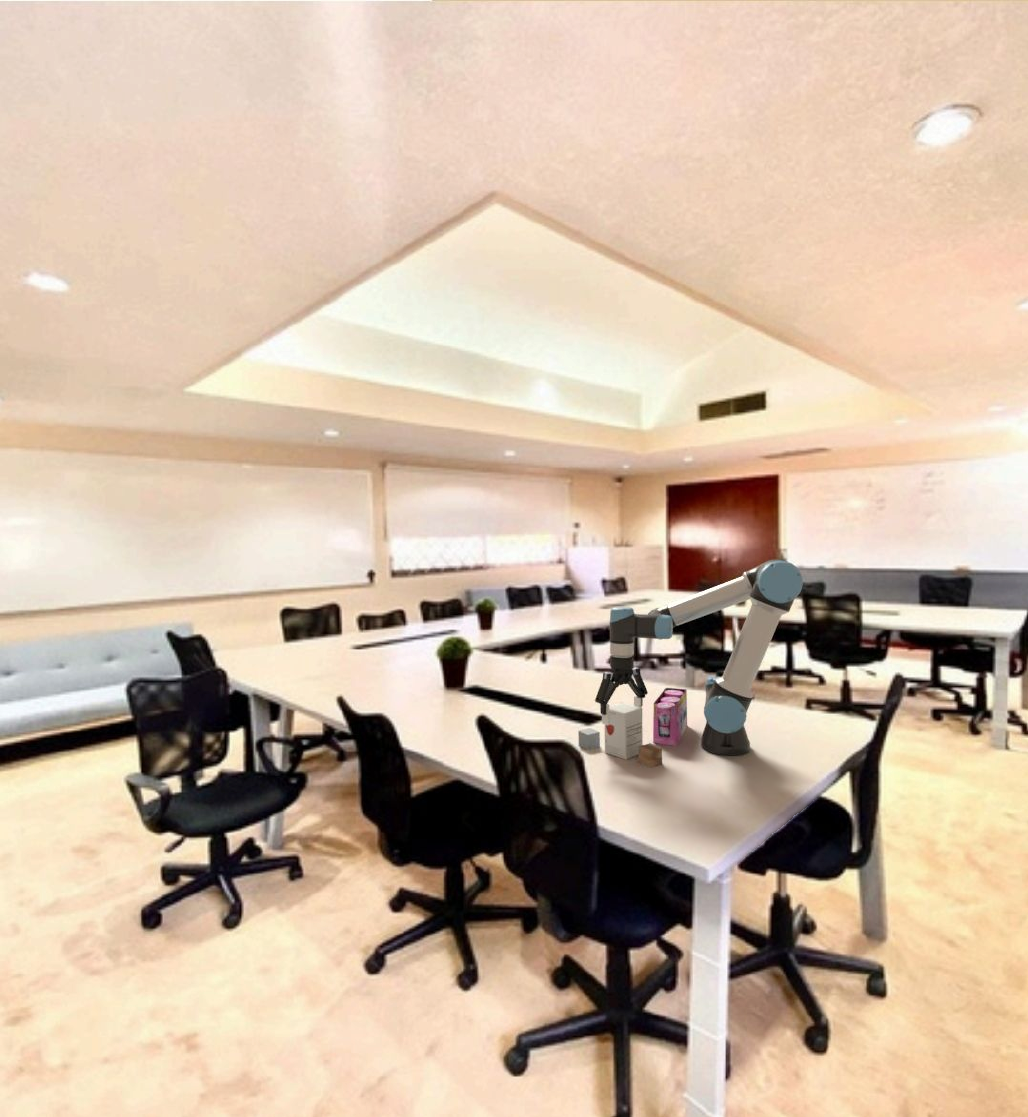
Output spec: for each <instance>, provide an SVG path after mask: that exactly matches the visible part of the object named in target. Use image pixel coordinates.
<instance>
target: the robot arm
mask: <svg viewBox="0 0 1028 1117" xmlns="http://www.w3.org/2000/svg"><path fill="white" fill-rule="evenodd" d="M803 584H804V582H803V576H802V572H801V571H800V569H799V568H798V567H797V566H796V565H795V564H793V563H791V562H789V561H787V560H784V559H782V558H781V559H779V558H774V559H768V560H767V561H765V562H763V563H761V564H759V565H757V566H755V567H753V568H751V569H749V570H746V571H744V572H743V574H742V575H741V576H740V577H737V578H734V579H732V580H729V581H726V582H724V583H721V584H718V585H716V586H713V587H711V588H708V589H705V590H703V591H700V592H698V593H695V594H693V595H689V596H687V597H684V598H682V599H680V600H677V601H674V602H671V603H669V604H667V605H664V606H661V607H656V608H653V609H652V610H650V611H649V612H648V614H641V613H635V611H634V608H633V607H632V606H631V607H630V606H615V607H612V608H611V609H610V612H609V613H610V614H609V617H610V618H609V653H610V657H609V666H610V672H606V671H604V672H602V680H601V683H600V685H599V688H598V690H597V694H596V695H595V696H596V697H595V700H594V702H595V703H598V704H599V705H600V706H599V707H600V714H601V723H602V724H603V725H604V726H605V725H607V726H608V725H609V706H610V704H609V702H610V700H611V699H612V696H613V695H614V693H615V692H616V690H617V688H619V686H624V685H628V687H629V688H630V689H631V691H632V692H633V693H634V694H635V696H633V706H637V707H641V708H643V701H644V700H643V699H644V698H646V695H648V690H647V688H646V685H645V682H644V680H643V677H642V673H641V668H639V667H636V666H635V665H634V664H635V663H634V661H635V658H634V654H635V651H634V649H635V648H634V646H635V645H634V642H635V640H634V638H635V639H652V640H653V639H655V640H656V639H657V640H671V639H672V638H673V631H674V630H673V629H674V628H675V627H677V626H680V625H683V624H685V623H688V622H691V621H693V620H696V619H699V618H702V617H704V616H707V615H710V614H712V613H715V612H718V611H721V610H724V609H727V608H730V607H732V606H735V605H738V604H741V603H743V602H747V601H748V600H750V601H751V605H750V608H749V611H748V613H747V615H746V618H745V621H744V623H743V626H742V628H741V630H740V631H739V635H738V637H737V640H736V642H735V645H734V647H733V650H732V653H731V655H730V657H729V660H728V662H727V665H726V666H725V669H724V672H723V674H722V675H721V676H709V677H707V678H706V679H705V686H704V687H705V702H704V707H703V715H704V718H705V721H706V723H705V726H704V729H703V732H702V735H701V739H700V745H701V748H702V749H704V751H706V752H709V753H712V754H716V755H721V756H741V755H745V754H748V753H750V751H751V742H750V739H749V737H748V734H747V731H746V727H745V723H746V721H747V713H748V709H749V708H750V706H751V703H752V700H753V698H754V694H753V691H752V686H753V684H754V681H755V680H756V676H757V675H758V671H759V669H760V667H761V664H762V663H763V661H764V659H765V655H766V653H767V650H768V648H769V646H770V643H771V641H772V639H773V636H774V633H775V632H776V629H777V626H778V625H779V622H780V620H781V618H782V616H783V615H785V614H788V613H790V611H791V608H792V606H793V604H794V602H795V599H796V598H797V597H798V596H799V595H800V593H801V591H802V588H803ZM632 676H633V677H632Z"/></svg>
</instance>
